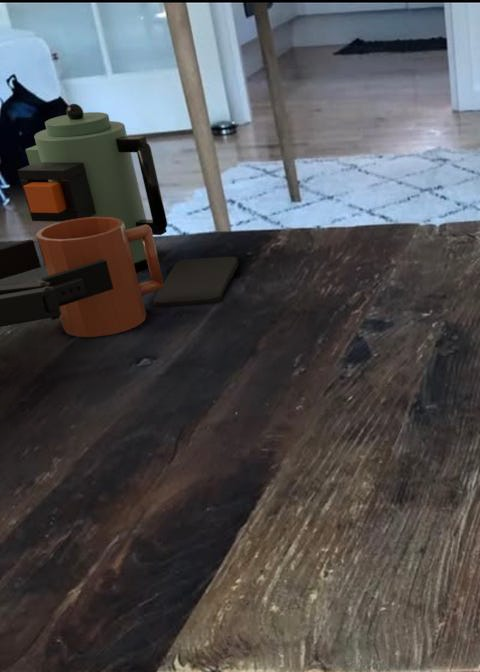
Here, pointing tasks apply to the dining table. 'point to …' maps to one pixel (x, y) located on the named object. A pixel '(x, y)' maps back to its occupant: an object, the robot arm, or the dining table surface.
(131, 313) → the mug
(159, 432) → the dining table surface
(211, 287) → the phone
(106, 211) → the kettle
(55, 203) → the switch
